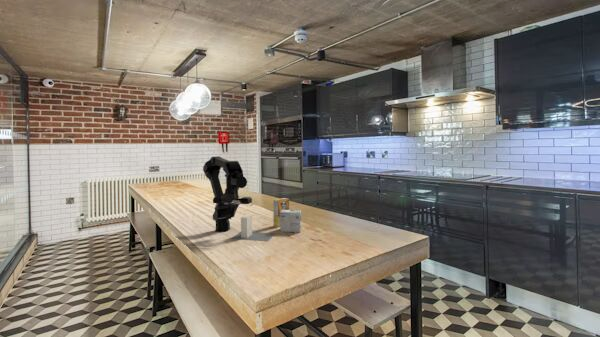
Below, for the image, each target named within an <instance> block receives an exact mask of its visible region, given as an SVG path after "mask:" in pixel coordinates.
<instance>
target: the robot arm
mask: <svg viewBox="0 0 600 337" xmlns="http://www.w3.org/2000/svg"><path fill="white" fill-rule="evenodd" d="M202 169H203V170H202V171H203V173H204V176H205V177H206V178H207V179H208V180H209V181H210V185H211V189H212V192H213V196H214V197H212V198H213V199H212V203H213V204H215V205H214V206H215V207H214V212H213V214H212V220H213V221H215V230H214V232H219V233H220V232H221V233H226V232H228V231H229V230H231V224H230V220H231V219H232V218H234V217H235V215H236V212H237V210H238V208H239V205H249V204H251V203H253V199H252V197H251V196H243V197H241V198H240V195H239V190H240V189H243V188H246V186H247V185H248V180H247V178H246V177H245V176H244V172H243V171H244V170H243V169H242V166H241V164H240V163H239V161H238V160H228V159H225V158H223V157H221V156H217V155H216V156H211V157H210V159H209V160H207V161H205V162H204V165H203V167H202ZM221 169H222V170H223V172H224V173H225V175H224V177H225V183H226V184H225V186H226V187H225V189H224V192H223V188H222V185H221V181H220V177H219V175H220V173H221Z"/></svg>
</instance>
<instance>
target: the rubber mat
mask: <svg viewBox="0 0 600 337" xmlns="http://www.w3.org/2000/svg"><path fill="white" fill-rule="evenodd" d="M275 235H276V232H274V233H273V232H257V231H256V232H255V231H252V235H250V236H249V237H248V238H241V231H240V232H239V233H236V234H235V235H233V236H232V237H231V238H230V240H238V241H241V240H242V241H254V242H256V241H258V242H268V241H270V240H271V239H272V238H273V236H275Z"/></svg>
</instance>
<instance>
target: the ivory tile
mask: <svg viewBox="0 0 600 337" xmlns="http://www.w3.org/2000/svg"><path fill="white" fill-rule="evenodd" d="M240 232H241V238H248V237H249V236H250V235H252V232H253V214H244V215H243V216H241V217H240Z"/></svg>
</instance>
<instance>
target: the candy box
mask: <svg viewBox="0 0 600 337" xmlns="http://www.w3.org/2000/svg"><path fill="white" fill-rule="evenodd" d="M272 203H273V204H272V205H273V207H272V208H273V227H274V228H280V212H281V211H282V210H290V198H288V197H287V198H286V197H282V198H276V199H273V202H272Z"/></svg>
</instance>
